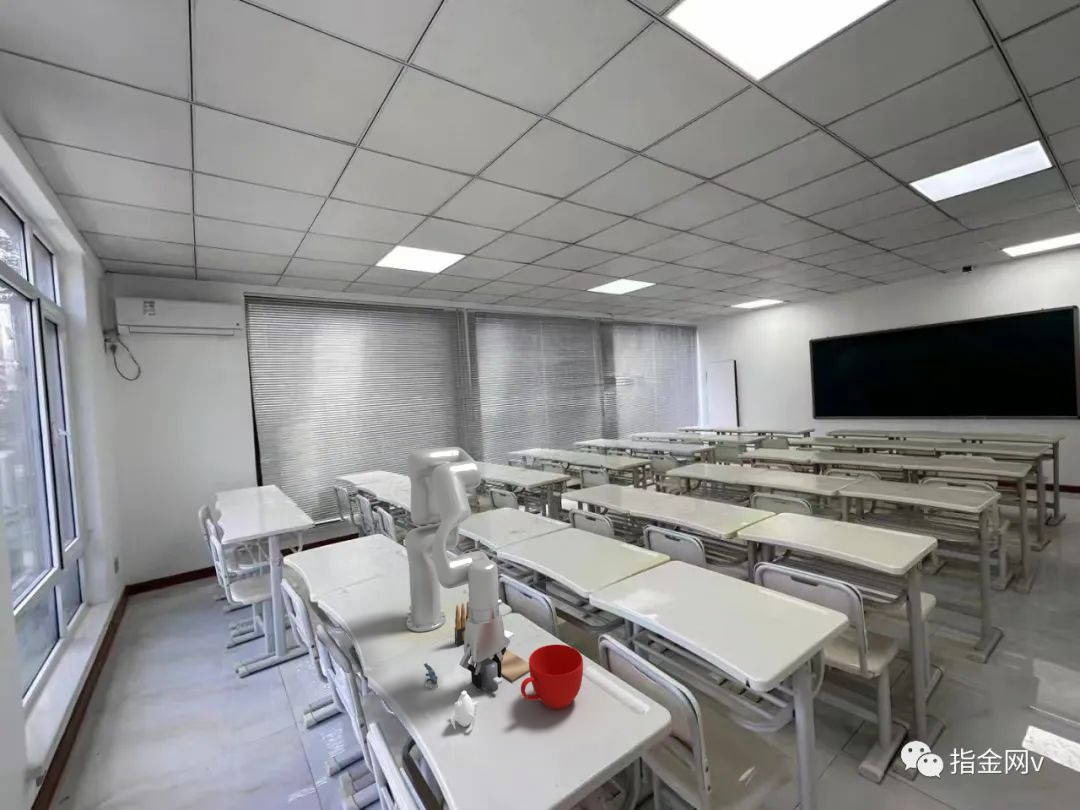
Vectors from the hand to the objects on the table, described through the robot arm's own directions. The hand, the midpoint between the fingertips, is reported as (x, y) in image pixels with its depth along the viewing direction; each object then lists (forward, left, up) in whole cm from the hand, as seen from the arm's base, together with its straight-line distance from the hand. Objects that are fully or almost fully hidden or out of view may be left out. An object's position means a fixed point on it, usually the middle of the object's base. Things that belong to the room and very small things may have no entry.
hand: (487, 680), depth 114 cm
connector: (0, 0, -1) cm, 1 cm away
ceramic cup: (+17, +6, -1) cm, 18 cm away
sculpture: (-11, -10, -2) cm, 15 cm away
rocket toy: (+7, -12, -1) cm, 14 cm away
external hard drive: (-16, +13, -2) cm, 21 cm away
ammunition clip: (-21, +10, -1) cm, 23 cm away
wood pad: (-3, +9, -1) cm, 10 cm away
